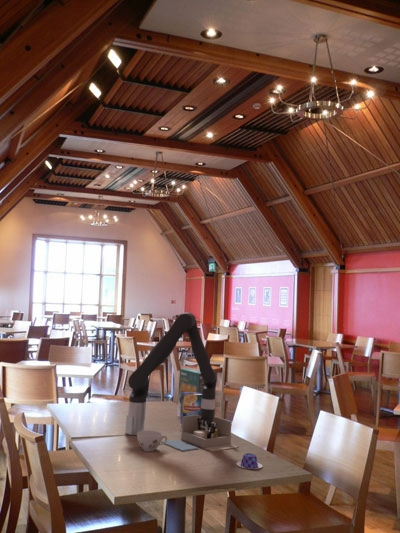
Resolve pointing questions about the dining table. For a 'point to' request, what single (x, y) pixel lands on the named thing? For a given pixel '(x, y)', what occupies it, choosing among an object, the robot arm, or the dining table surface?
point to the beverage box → (189, 406)
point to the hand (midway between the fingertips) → (205, 440)
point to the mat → (180, 445)
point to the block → (205, 434)
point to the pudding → (249, 461)
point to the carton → (213, 443)
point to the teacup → (150, 439)
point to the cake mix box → (189, 384)
